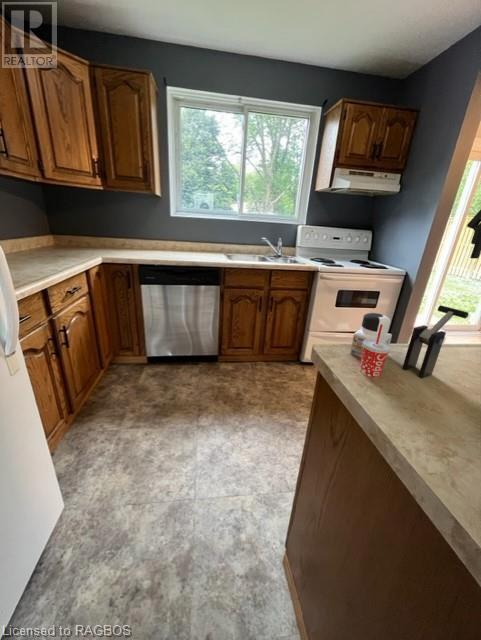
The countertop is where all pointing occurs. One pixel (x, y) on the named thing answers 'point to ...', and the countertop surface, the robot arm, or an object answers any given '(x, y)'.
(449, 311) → the lever
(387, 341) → the container
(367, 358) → the beverage cup
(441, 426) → the countertop surface
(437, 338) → the bracket
